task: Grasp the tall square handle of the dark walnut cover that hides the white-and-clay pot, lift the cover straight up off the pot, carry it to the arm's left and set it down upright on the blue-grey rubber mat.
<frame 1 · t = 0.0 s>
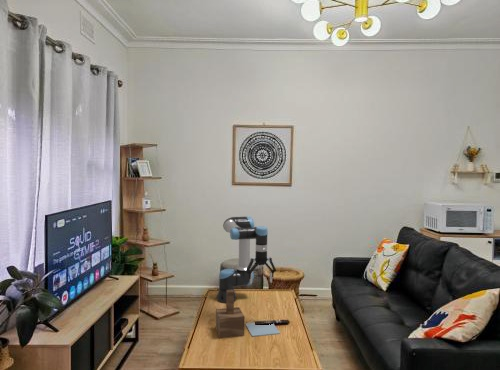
hand: (260, 282, 233), 28 cm above the table, fingers open, 13 cm apart
cover: (229, 331, 225), on the table
mat: (262, 328, 229), on the table
lidded jar: (229, 331, 225), on the table
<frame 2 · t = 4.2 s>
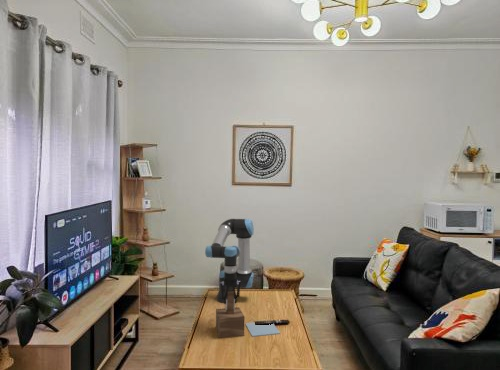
hand: (229, 308, 224), 15 cm above the table, fingers closed on cover, 4 cm apart
cover: (229, 331, 225), on the table, touching gripper
everything else where it was.
when the fingers open (17 cm above the table, at t = 10.4 s): cover drops 2 cm, resting on mat.
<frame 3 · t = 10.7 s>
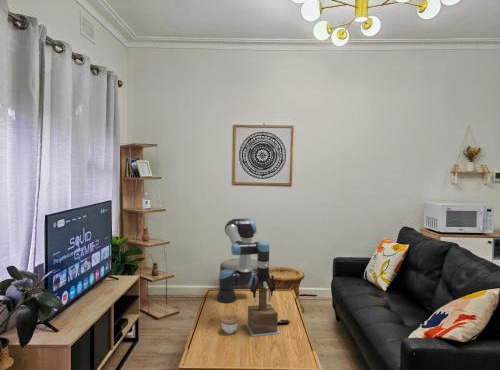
hand: (262, 301, 228), 18 cm above the table, fingers open, 9 cm apart
cover: (262, 327, 229), point 1 cm above the table, touching mat
everything else where it was.
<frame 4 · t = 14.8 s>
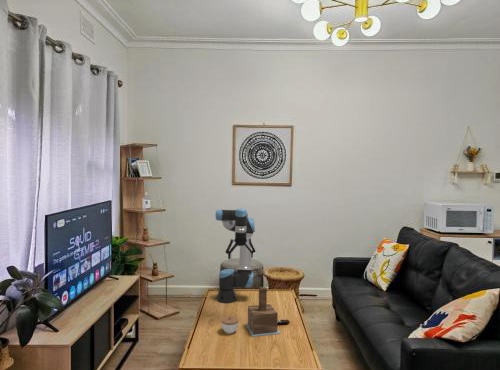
hand: (240, 263, 241), 39 cm above the table, fingers open, 13 cm apart
nothing on the table moved.
at the end: cover inside the target area on the mat (0.0 cm from its centre), point 0.6 cm above the mat's base; cover tilted 0°; the gripper is holding nothing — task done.
